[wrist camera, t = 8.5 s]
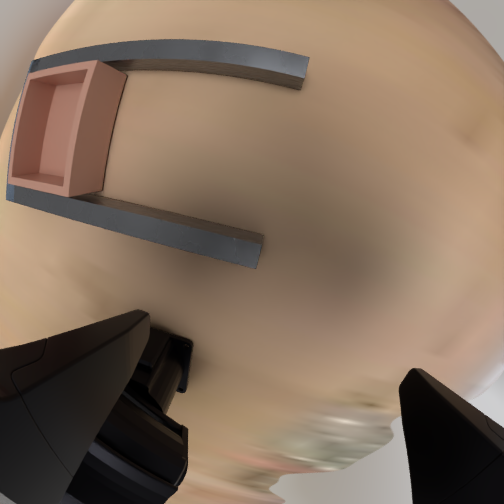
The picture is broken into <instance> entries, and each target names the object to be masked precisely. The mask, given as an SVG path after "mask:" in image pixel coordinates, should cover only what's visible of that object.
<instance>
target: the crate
mask: <svg viewBox="0 0 504 504" xmlns="http://www.w3.org/2000/svg"><path fill="white" fill-rule="evenodd" d="M126 77H127V75H126V74H124V73H122V72H120V71H118V70H116V69H114V68H112V67H111V66H109V65H107V64H105V63H103V62H101V61H99V60H93V61H86V62H79V63H73V64H68V65H63V66H58V67H53V68H48V69H44V70H40V71H36V72H33V73H29V74H28V77H27V80H26V83H25V86H24V90H23V93H22V97H21V101H20V105H19V109H18V114H17V118H16V123H15V128H14V134H13V140H12V147H11V154H10V162H9V173H8V184H12V185H16V186H21V187H25V188H30V189H34V190H39V191H43V192H47V193H52V194H56V195H61V196H65V197H72V196H77V195H81V194H86V193H92V192H97V191H102V186H103V179H104V172H105V165H106V160H107V154H108V148H109V143H110V138H111V134H112V129H113V125H114V120H115V116H116V112H117V108H118V104H119V101H120V97H121V94H122V90H123V87H124V83H125V80H126Z"/></svg>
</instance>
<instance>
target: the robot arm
mask: <svg viewBox="0 0 504 504" xmlns="http://www.w3.org/2000/svg"><path fill="white" fill-rule="evenodd" d="M185 344H187V345H188V346H186V345H185ZM192 351H193V343H192V341H190V340H188V339H185V338H182V337H179V336H175V335H172V334H169V333H166V332H163V331H160V330H157V329H154V328H151V327H150V314H149V313H148V312H145V311H142V310H139V309H137V310H134V311H131V312H128V313H125V314H121V315H118V316H115V317H112V318H109V319H106V320H103V321H100V322H96V323H93V324H90V325H87V326H84V327H80V328H77V329H74V330H71V331H68V332H64V333H61V334H58V335H54V336H51V337H48V339H47V338H44V339H41V340H38V341H34V342H30V343H27V344H23V345H19V346H14V347H9V348H4V349H0V504H164V503H165V502H166V501H167V500H168V498H170V497H171V496H172V495H173V494H174V493H175V492H176V491H177V490H178V486H179V485H180V484H181V482H182V481H183V479H184V477H185V475H186V472H187V468H188V428H186V427H185V426H183V425H180V424H178V423H177V422H176V421H174V420H173V419H171V418H170V417H168V416H167V415H166V413H167V411H168V409H169V406H170V404H171V401H172V399H173V397H174V394H175V392H176V391H177V392H180V393H185V392H186V390H187V385H188V378H189V371H190V364H191V357H192ZM399 397H400V406H401V416H402V425H403V431H404V436H405V442H406V448H407V456H408V463H409V470H410V479H411V488H412V500H413V504H504V428H503V427H502V426H500V425H499V424H497V423H496V422H495V421H493V420H492V419H490V418H489V417H488V416H486V415H484V414H483V413H482V412H481V411H479V410H478V409H477V408H475V407H474V406H472V405H471V404H470V403H468V402H467V401H466V400H464V399H463V398H461V397H460V396H459V395H457V394H456V393H454V392H453V391H452V390H450V389H449V388H448V387H446V386H445V385H443V384H442V383H441V382H439V381H438V380H436V379H435V378H434V377H432V376H431V375H430V374H428V373H427V372H425V371H424V370H423V369H420V368H412V369H411V370H410V371H409V372H408V374H407V375H406V377H405V378H404V380H403V381H402V382H401V384H400V386H399Z"/></svg>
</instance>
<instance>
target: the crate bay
mask: <svg viewBox="0 0 504 504" xmlns="http://www.w3.org/2000/svg"><path fill="white" fill-rule="evenodd" d="M93 60H99V61H101V62H103V63H105V64H107V65H109V66H111V67H112V68H114V69H116V70H118V71H122V70H170V71H188V72H200V73H210V74H218V75H226V76H233V77H240V78H246V79H251V80H257V81H262V82H267V83H272V84H276V85H281V86H285V87H289V88H293V89H297V90H301V87H302V84H303V81H304V78H305V74H306V70H307V66H308V61H309V57H306V56H302V55H298V54H294V53H290V52H285V51H281V50H276V49H270V48H265V47H259V46H253V45H246V44H239V43H230V42H220V41H207V40H184V39H163V40H140V41H127V42H118V43H110V44H102V45H96V46H90V47H85V48H79V49H75V50H70V51H66V52H61V53H57V54H53V55H50V56H46V57H43V58H39V59H36V60H33V61H32V62H31V65H30V68H29V71H28V74H29V73H33V72H36V71H40V70H44V69H48V68H53V67H58V66H63V65H68V64H73V63H79V62H86V61H93ZM28 74H27V77H28ZM27 77H26V80H27ZM26 80H25V83H26ZM25 83H24V86H25ZM23 90H24V87H23ZM23 90H22V93H23ZM21 97H22V94H21ZM20 101H21V98H20ZM20 101H19V105H20ZM18 109H19V106H18ZM17 114H18V110H17ZM17 114H16V118H17ZM15 123H16V119H15ZM14 128H15V124H14ZM13 134H14V129H13ZM12 140H13V135H12ZM11 147H12V141H11ZM11 147H10V154H11ZM9 162H10V155H9ZM8 173H9V164H8ZM6 200H8V201H12V202H15V203H18V204H21V205H25V206H28V207H31V208H35V209H38V210H42V211H45V212H48V213H52V214H55V215H59V216H62V217H66V218H69V219H72V220H76V221H79V222H83V223H86V224H90V225H93V226H97V227H101V228H104V229H108V230H111V231H115V232H118V233H122V234H126V235H129V236H133V237H137V238H140V239H144V240H148V241H151V242H155V243H159V244H162V245H166V246H170V247H174V248H177V249H181V250H185V251H189V252H192V253H196V254H200V255H204V256H208V257H211V258H215V259H219V260H223V261H227V262H231V263H235V264H239V265H242V266H246V267H250V268H254V269H256V267H257V263H258V259H259V255H260V252H261V248H262V243H263V237H264V235H262V234H258V233H254V232H250V231H246V230H242V229H238V228H234V227H230V226H226V225H222V224H218V223H214V222H210V221H206V220H202V219H197V218H193V217H189V216H185V215H181V214H176V213H172V212H168V211H164V210H159V209H155V208H151V207H146V206H142V205H138V204H133V203H129V202H124V201H120V200H115V199H111V198H106V197H102V196H97V195H92V194H88V193H86V194H81V195H77V196H72V197H65V196H61V195H56V194H52V193H47V192H43V191H39V190H34V189H30V188H25V187H21V186H16V185H12V184H8V174H7V190H6Z"/></svg>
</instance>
